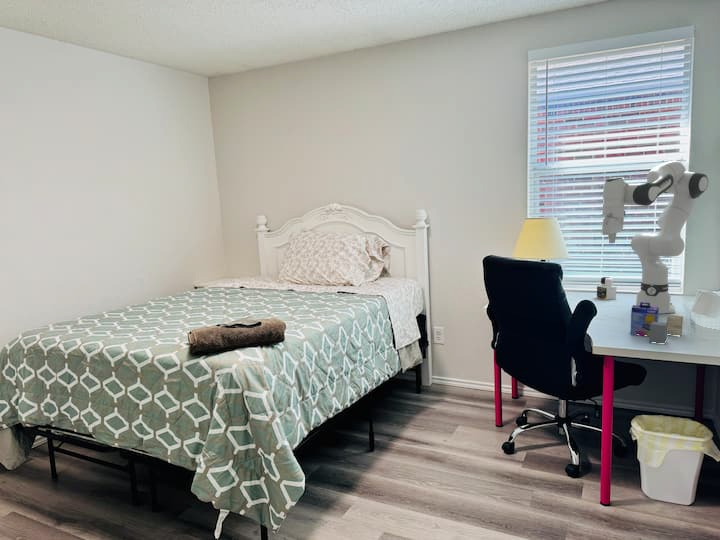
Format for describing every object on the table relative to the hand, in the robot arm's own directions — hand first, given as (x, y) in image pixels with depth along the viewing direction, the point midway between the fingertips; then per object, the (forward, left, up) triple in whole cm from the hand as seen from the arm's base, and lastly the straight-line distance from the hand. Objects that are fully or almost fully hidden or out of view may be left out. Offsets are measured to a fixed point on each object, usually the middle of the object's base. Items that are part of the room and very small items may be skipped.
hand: (612, 243), depth 230 cm
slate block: (+24, +25, -37) cm, 51 cm away
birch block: (+9, +28, -37) cm, 47 cm away
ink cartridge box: (+16, +18, -37) cm, 44 cm away
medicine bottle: (-50, -15, -37) cm, 64 cm away
